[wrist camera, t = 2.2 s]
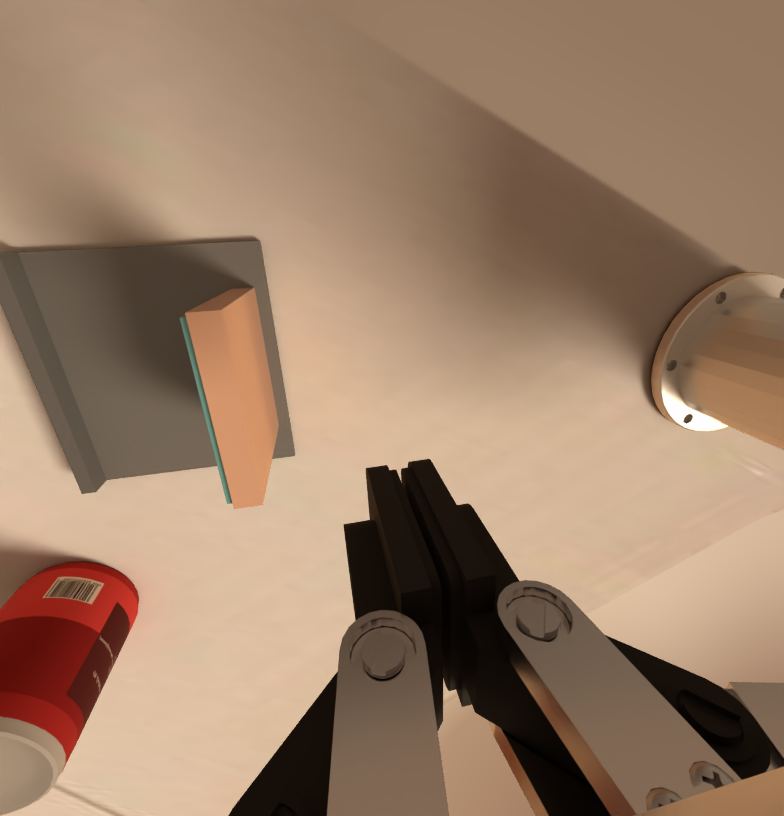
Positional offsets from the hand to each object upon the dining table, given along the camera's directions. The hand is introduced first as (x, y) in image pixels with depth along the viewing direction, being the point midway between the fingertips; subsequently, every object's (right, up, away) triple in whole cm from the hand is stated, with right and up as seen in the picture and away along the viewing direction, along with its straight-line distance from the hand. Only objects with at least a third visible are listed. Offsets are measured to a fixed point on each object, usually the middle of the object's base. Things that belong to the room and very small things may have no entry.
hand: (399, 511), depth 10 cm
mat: (-14, +5, +14) cm, 20 cm away
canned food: (-23, -11, +19) cm, 32 cm away
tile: (-9, +6, +14) cm, 18 cm away
